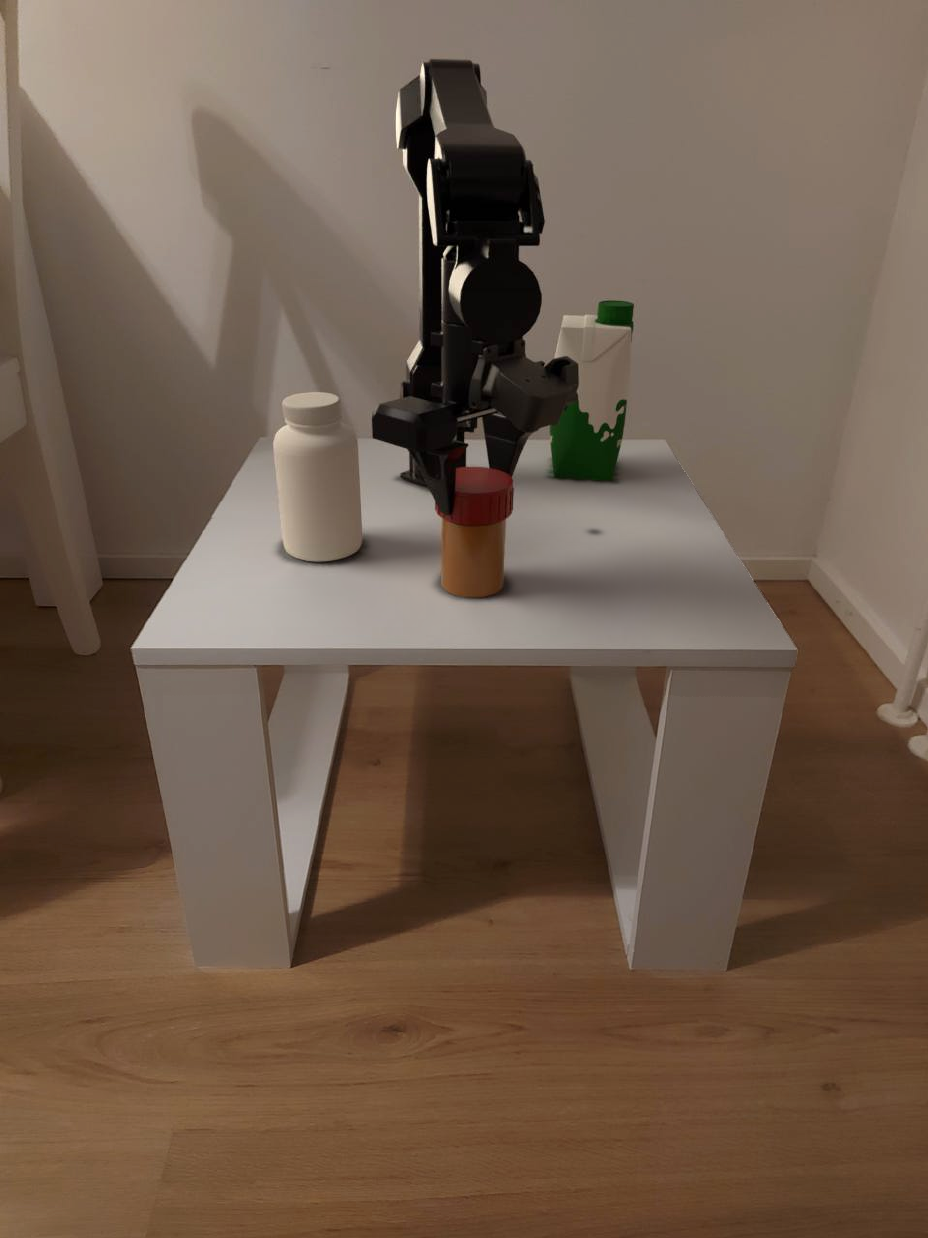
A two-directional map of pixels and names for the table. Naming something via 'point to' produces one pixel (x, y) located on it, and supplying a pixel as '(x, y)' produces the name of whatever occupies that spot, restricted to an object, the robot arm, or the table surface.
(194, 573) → the table surface
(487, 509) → the lid
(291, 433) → the pill bottle
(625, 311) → the soya milk
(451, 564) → the jar
